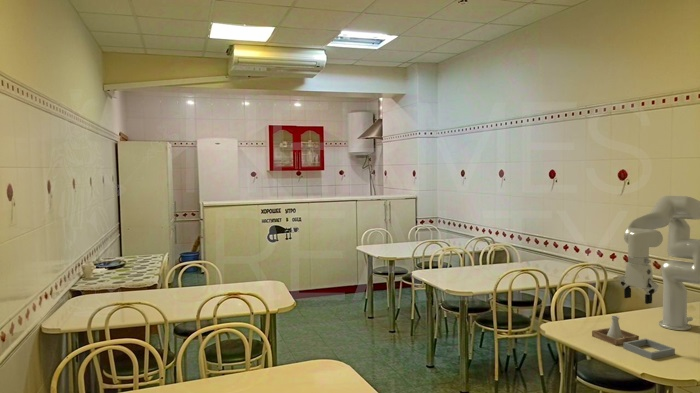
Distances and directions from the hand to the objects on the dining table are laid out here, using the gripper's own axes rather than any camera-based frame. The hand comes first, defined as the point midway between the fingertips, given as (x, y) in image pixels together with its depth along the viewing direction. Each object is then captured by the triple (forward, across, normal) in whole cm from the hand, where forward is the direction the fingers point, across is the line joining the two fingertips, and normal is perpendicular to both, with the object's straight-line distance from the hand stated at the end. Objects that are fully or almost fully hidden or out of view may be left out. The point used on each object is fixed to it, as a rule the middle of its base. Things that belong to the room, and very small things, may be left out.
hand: (637, 300), depth 209 cm
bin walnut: (+20, +11, 0) cm, 23 cm away
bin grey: (+20, -5, 0) cm, 21 cm away
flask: (+20, +11, 0) cm, 23 cm away
